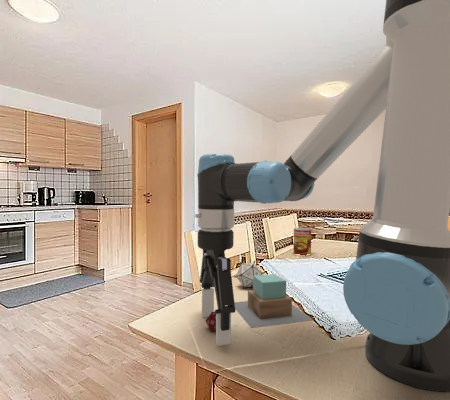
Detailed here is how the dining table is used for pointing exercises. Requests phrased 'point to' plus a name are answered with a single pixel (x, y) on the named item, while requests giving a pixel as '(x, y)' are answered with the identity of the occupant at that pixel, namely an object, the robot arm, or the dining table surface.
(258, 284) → the mid block
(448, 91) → the robot arm
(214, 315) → the dice
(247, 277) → the game die
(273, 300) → the base block
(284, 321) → the mat
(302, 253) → the canned food
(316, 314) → the dining table surface
